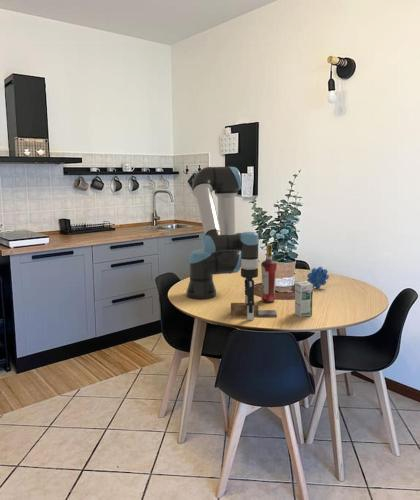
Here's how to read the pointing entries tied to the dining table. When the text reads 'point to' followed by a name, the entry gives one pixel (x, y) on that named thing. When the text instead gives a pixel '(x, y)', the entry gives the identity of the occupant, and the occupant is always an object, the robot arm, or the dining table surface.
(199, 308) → the dining table surface
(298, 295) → the syrup box
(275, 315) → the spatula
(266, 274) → the liquor
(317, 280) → the grapes
